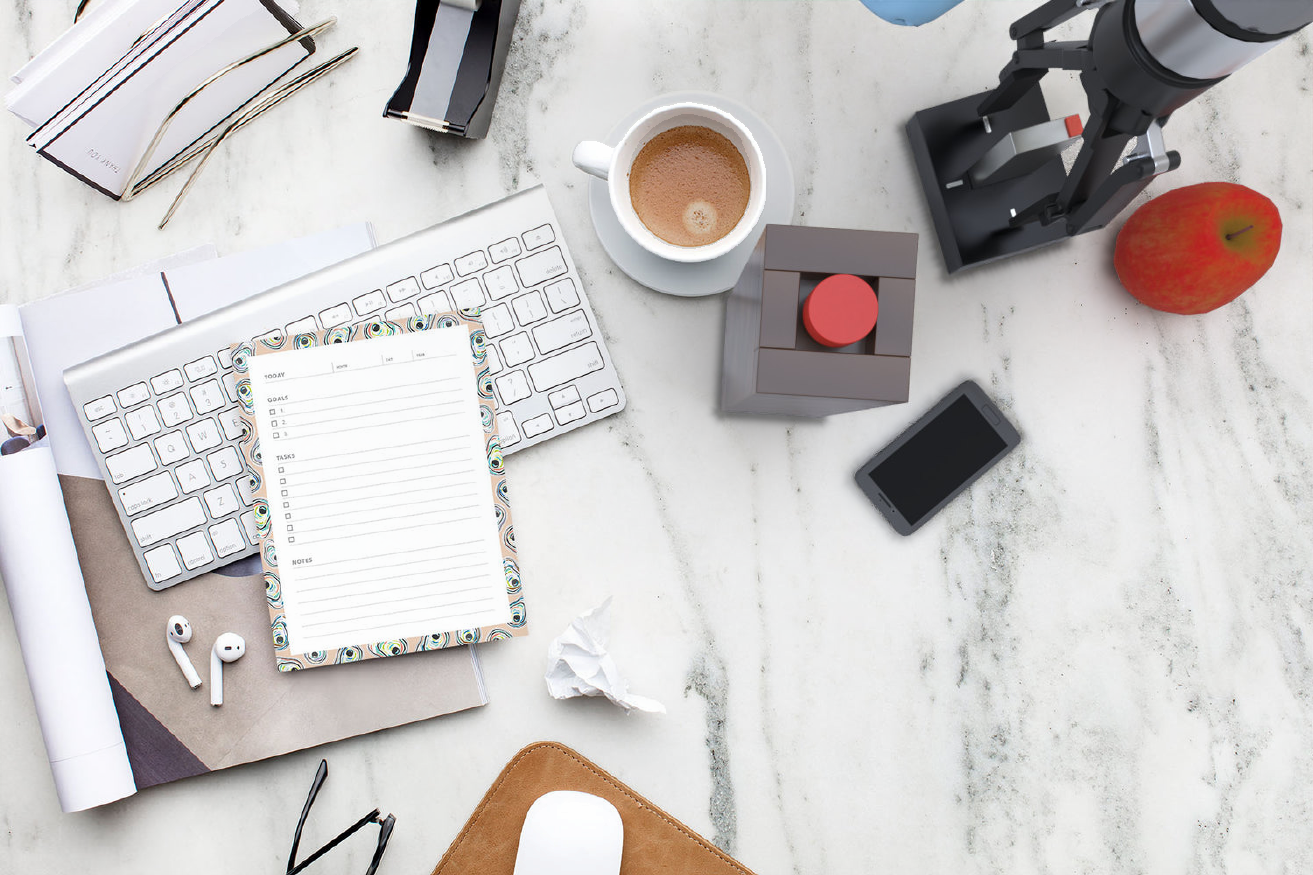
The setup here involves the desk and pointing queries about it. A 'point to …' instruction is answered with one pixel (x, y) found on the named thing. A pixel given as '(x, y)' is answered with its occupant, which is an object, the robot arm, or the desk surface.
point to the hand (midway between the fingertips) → (1009, 164)
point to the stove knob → (1025, 151)
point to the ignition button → (840, 310)
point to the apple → (1197, 247)
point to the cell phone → (937, 458)
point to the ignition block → (778, 344)
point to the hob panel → (981, 215)
